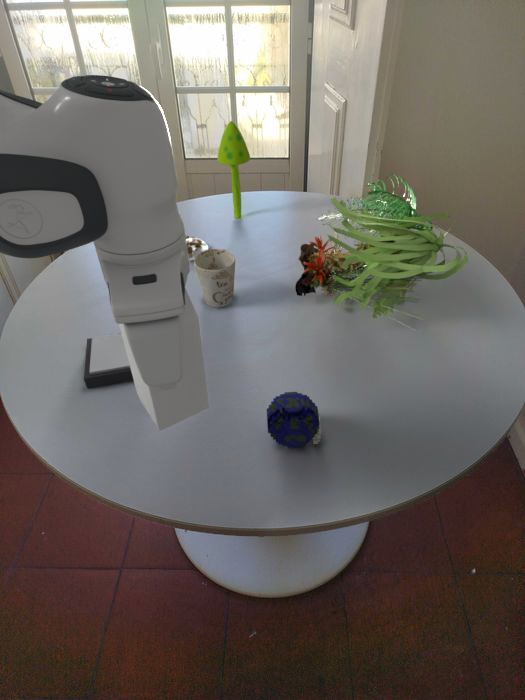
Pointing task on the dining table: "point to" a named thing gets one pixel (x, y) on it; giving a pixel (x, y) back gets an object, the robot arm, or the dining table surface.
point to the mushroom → (233, 160)
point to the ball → (293, 420)
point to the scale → (106, 361)
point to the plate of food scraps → (195, 247)
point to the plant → (377, 253)
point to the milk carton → (191, 387)
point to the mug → (216, 276)
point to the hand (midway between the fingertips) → (166, 357)
